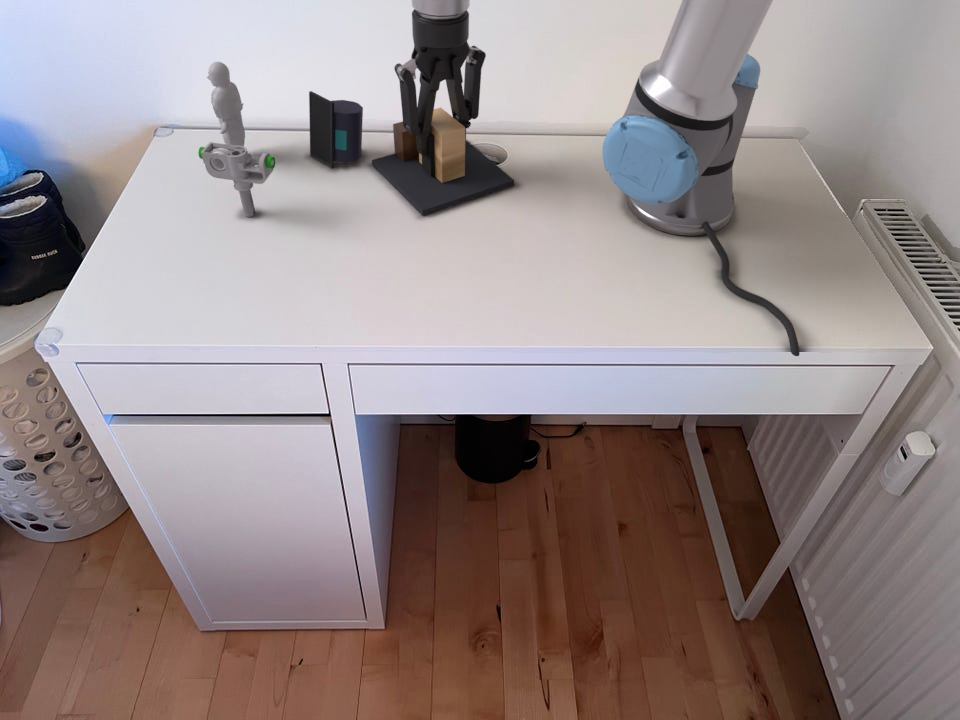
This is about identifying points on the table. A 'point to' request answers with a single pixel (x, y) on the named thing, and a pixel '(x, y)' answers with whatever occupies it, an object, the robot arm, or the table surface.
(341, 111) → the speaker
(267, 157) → the mechanical component
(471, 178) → the mat
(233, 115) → the figurine
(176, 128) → the table surface
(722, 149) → the robot arm
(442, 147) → the pad block
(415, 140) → the dark brown wooden block
